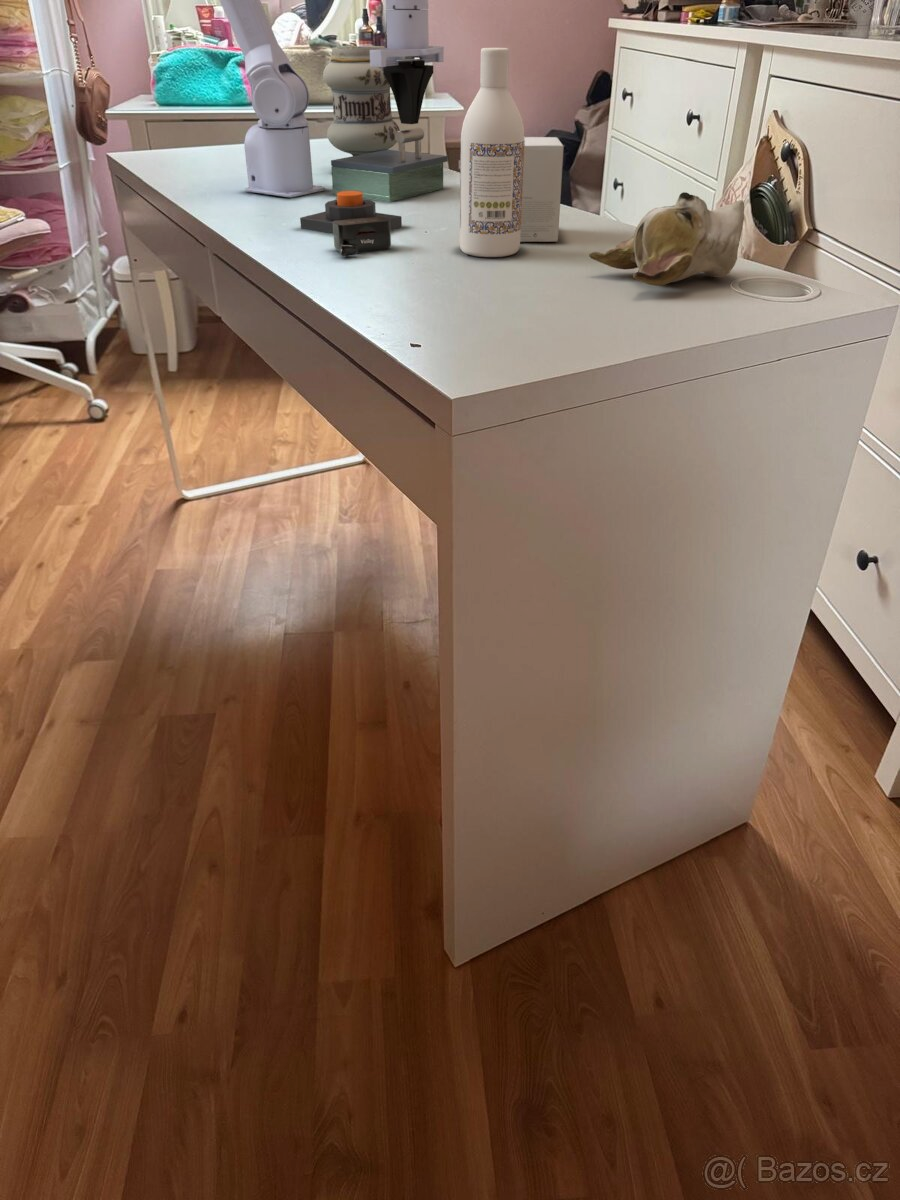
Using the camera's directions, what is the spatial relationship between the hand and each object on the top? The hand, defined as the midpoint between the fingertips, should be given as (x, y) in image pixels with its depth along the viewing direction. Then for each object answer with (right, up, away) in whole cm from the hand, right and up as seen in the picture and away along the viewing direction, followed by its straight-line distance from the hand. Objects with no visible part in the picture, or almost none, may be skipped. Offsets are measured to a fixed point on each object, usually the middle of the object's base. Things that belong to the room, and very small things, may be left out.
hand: (409, 123), depth 128 cm
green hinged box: (-3, -6, +7) cm, 10 cm away
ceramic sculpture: (+29, -35, -35) cm, 58 cm away
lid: (-3, -3, +5) cm, 7 cm away
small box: (+16, -23, -18) cm, 34 cm away
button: (-7, -19, -16) cm, 26 cm away
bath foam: (+10, -28, -25) cm, 39 cm away
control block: (-7, -21, -15) cm, 27 cm away
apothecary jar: (-8, +4, +23) cm, 25 cm away
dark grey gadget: (-5, -28, -25) cm, 38 cm away
